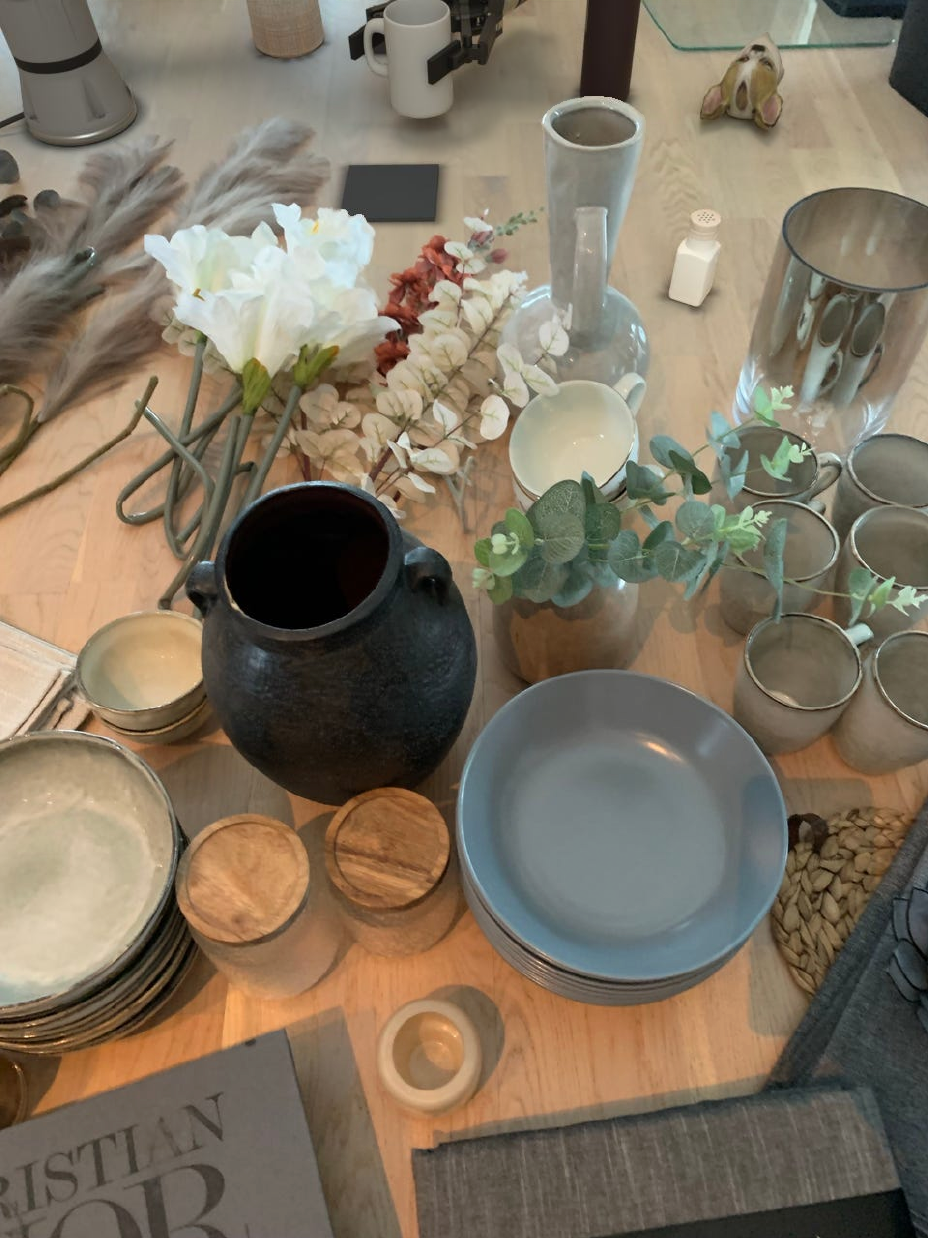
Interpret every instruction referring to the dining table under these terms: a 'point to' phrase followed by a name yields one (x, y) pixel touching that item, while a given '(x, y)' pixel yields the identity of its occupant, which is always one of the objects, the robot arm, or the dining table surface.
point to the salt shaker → (696, 259)
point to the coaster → (392, 192)
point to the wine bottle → (609, 47)
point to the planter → (286, 26)
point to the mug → (412, 55)
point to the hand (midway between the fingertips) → (390, 60)
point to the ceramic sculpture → (749, 86)
